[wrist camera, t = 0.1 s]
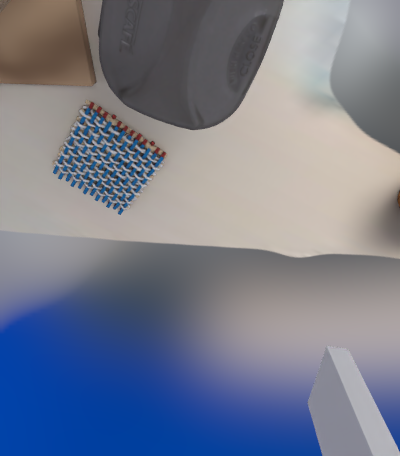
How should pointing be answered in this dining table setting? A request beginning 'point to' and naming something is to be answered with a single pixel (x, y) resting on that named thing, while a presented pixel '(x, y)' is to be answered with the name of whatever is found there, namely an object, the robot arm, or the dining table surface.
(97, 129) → the woven mat
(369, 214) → the dining table surface
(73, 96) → the dining table surface
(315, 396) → the robot arm
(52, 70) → the walnut board
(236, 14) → the coffee jar
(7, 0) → the steel leaf and pin
